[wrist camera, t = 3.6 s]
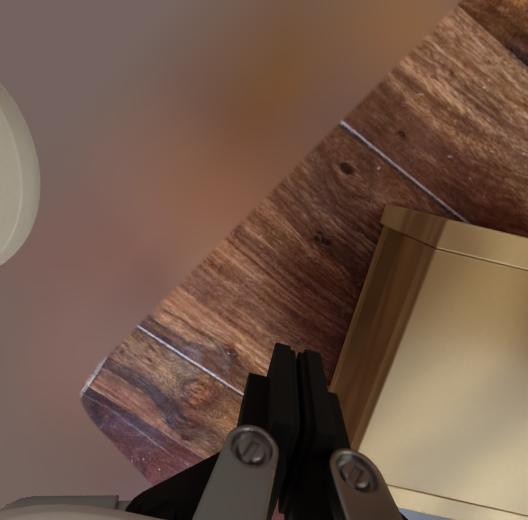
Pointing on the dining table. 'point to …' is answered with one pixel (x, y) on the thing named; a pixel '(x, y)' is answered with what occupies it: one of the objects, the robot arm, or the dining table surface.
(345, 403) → the gold flanged block
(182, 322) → the dining table surface
